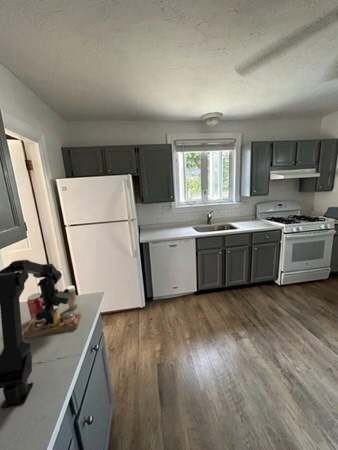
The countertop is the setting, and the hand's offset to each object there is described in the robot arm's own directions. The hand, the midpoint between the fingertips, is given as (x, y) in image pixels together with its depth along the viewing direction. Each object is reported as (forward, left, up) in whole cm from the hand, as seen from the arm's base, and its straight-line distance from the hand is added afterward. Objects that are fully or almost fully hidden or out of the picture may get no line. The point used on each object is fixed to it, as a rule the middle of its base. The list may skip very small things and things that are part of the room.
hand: (54, 320), depth 94 cm
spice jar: (0, -6, -4) cm, 7 cm away
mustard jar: (0, 0, -2) cm, 2 cm away
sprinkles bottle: (+14, -5, -5) cm, 16 cm away
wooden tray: (0, 0, -4) cm, 4 cm away
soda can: (+11, +11, -5) cm, 16 cm away
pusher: (0, +6, -3) cm, 7 cm away
